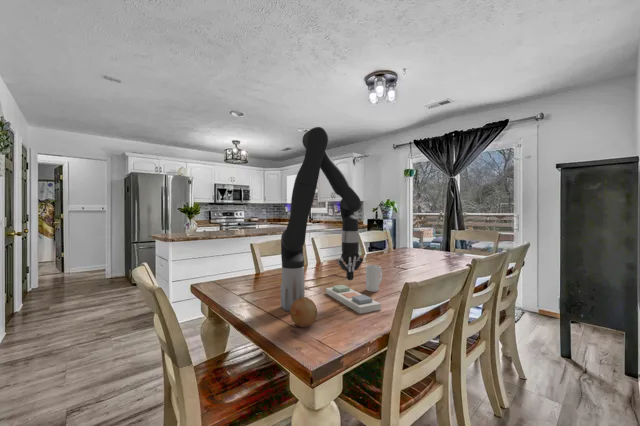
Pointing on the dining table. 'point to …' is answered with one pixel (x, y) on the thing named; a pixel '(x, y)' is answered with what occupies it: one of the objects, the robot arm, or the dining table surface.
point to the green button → (341, 288)
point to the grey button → (362, 299)
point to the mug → (373, 277)
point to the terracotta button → (350, 295)
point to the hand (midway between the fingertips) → (350, 279)
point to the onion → (303, 312)
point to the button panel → (353, 305)
